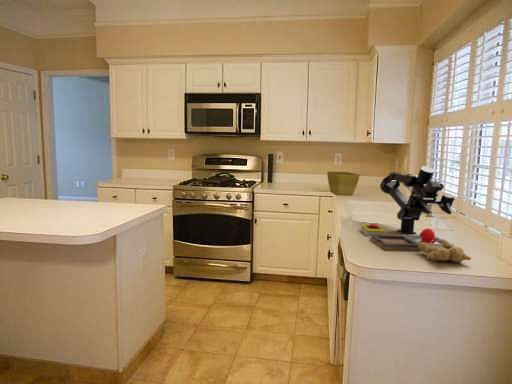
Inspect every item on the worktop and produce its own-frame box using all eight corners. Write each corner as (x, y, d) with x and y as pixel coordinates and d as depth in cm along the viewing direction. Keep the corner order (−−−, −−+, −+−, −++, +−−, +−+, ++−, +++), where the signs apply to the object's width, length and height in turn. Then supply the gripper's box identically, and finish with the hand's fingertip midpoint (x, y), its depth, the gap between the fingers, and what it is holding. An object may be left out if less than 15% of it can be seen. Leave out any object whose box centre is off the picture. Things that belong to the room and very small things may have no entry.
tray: (402, 237, 168) (403, 234, 168) (433, 238, 170) (433, 235, 169) (420, 247, 154) (420, 243, 154) (453, 248, 155) (453, 244, 155)
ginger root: (475, 266, 128) (472, 243, 128) (425, 271, 133) (422, 249, 133) (464, 255, 143) (460, 234, 143) (419, 259, 148) (416, 239, 147)
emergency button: (379, 222, 180) (390, 229, 166) (378, 231, 181) (389, 239, 166) (359, 221, 180) (369, 229, 166) (359, 230, 181) (368, 238, 166)
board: (370, 240, 162) (370, 234, 161) (403, 240, 163) (403, 235, 163) (385, 250, 147) (385, 244, 146) (421, 251, 148) (422, 245, 148)
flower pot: (358, 195, 292) (360, 174, 290) (337, 196, 287) (338, 174, 284) (345, 192, 310) (347, 172, 308) (325, 192, 304) (326, 171, 302)
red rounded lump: (420, 232, 167) (417, 227, 162) (434, 229, 164) (431, 224, 160) (423, 249, 163) (420, 244, 159) (438, 247, 160) (435, 242, 156)
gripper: (408, 176, 161) (424, 196, 148) (449, 177, 163) (469, 197, 150) (400, 197, 167) (415, 218, 154) (440, 198, 169) (458, 219, 156)
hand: (439, 213), depth 153 cm, fingers open, 9 cm apart
